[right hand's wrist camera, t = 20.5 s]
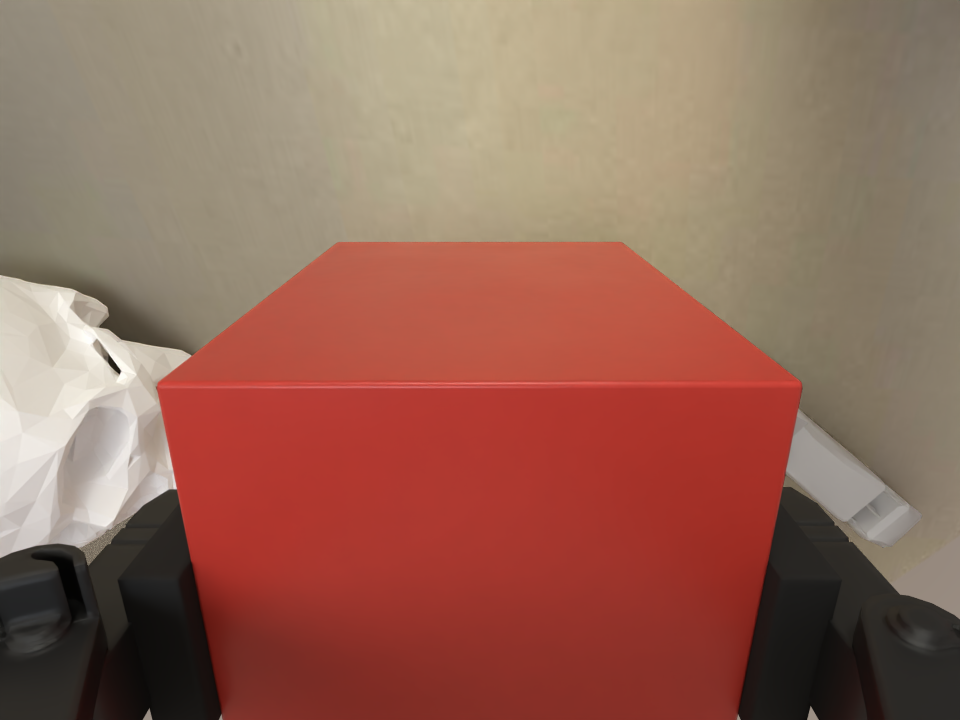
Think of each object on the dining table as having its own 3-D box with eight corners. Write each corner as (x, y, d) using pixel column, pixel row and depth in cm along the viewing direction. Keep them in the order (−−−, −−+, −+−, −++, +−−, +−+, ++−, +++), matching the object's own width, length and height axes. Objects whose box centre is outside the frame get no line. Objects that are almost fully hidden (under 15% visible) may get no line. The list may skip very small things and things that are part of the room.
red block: (602, 495, 19) (716, 833, 10) (356, 495, 19) (242, 833, 10) (623, 241, 16) (807, 382, 7) (336, 241, 16) (152, 382, 7)
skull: (235, 522, 44) (113, 712, 29) (-82, 395, 41) (-403, 536, 26) (304, 365, 41) (206, 490, 25) (-37, 212, 37) (-383, 251, 22)
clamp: (665, 374, 40) (708, 428, 34) (707, 331, 39) (759, 378, 33) (849, 518, 46) (914, 586, 40) (889, 484, 45) (963, 549, 39)
